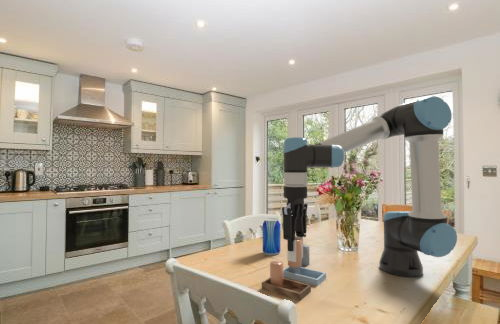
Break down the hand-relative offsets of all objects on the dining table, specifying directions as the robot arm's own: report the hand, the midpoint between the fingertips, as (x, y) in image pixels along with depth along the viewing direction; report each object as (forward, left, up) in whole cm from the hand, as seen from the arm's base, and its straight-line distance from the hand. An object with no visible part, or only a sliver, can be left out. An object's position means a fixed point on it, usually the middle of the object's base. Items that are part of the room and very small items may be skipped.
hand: (295, 258), depth 89 cm
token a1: (+7, 0, -11) cm, 13 cm away
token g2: (+9, -26, -11) cm, 30 cm away
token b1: (+7, -13, -11) cm, 18 cm away
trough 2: (+3, -13, -11) cm, 18 cm away
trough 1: (+3, 0, -11) cm, 12 cm away
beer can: (+28, -31, -12) cm, 44 cm away
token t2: (0, 0, -2) cm, 2 cm away
